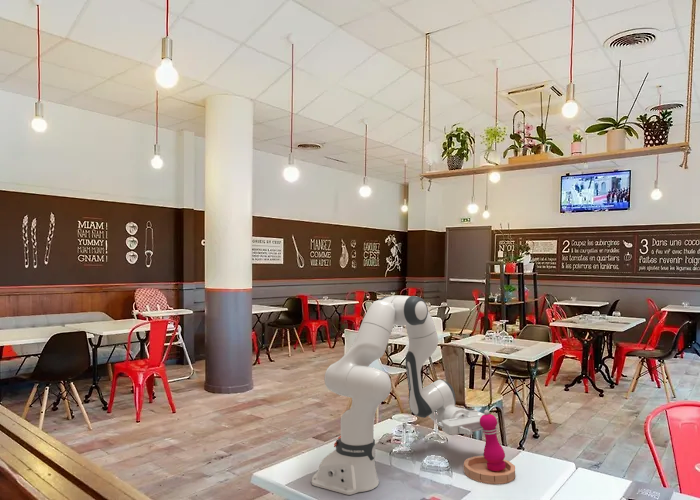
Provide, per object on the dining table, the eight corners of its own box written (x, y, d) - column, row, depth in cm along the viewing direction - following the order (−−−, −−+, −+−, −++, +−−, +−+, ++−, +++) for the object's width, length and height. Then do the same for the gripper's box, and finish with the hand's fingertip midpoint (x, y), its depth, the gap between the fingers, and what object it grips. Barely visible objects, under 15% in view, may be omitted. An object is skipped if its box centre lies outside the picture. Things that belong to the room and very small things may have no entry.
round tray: (461, 480, 165) (461, 471, 165) (467, 461, 181) (467, 453, 181) (514, 487, 159) (514, 478, 159) (515, 467, 175) (515, 459, 175)
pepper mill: (509, 469, 168) (499, 410, 170) (489, 472, 168) (478, 413, 170) (503, 462, 175) (493, 406, 177) (484, 465, 175) (473, 409, 177)
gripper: (434, 415, 182) (457, 426, 170) (478, 408, 191) (503, 418, 178) (434, 432, 182) (458, 444, 169) (478, 424, 191) (503, 435, 178)
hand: (481, 430), depth 174 cm, fingers open, 8 cm apart
